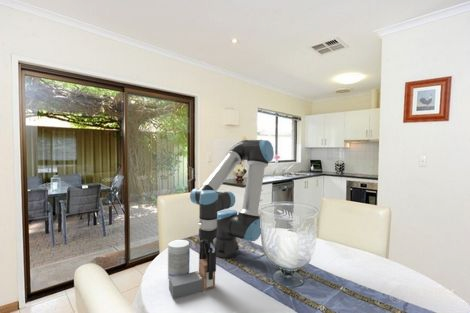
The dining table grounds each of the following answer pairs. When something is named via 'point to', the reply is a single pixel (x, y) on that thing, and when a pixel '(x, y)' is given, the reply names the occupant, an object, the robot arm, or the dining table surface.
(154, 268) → the dining table surface
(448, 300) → the dining table surface
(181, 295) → the grey long rectangular block
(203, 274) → the light brown wooden block
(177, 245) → the supplement tub
